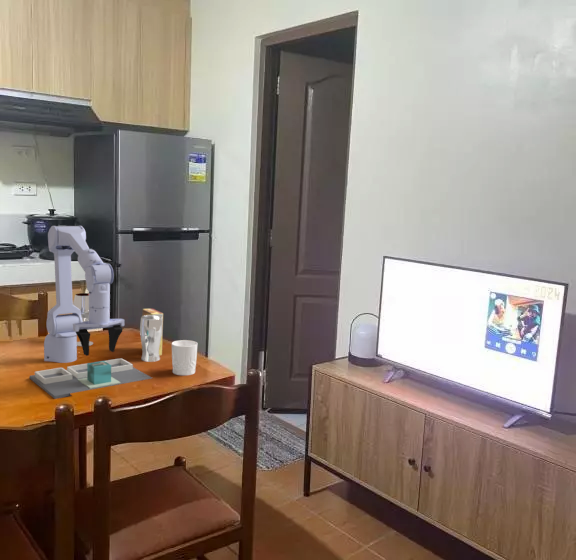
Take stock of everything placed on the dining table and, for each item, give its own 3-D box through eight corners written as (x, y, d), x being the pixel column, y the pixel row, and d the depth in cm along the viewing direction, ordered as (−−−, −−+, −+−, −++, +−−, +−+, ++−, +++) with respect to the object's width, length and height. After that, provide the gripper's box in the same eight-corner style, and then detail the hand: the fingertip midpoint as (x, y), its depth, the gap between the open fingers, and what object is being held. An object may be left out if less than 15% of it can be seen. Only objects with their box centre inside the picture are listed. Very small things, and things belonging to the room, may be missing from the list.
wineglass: (68, 343, 218) (67, 293, 215) (89, 339, 223) (89, 291, 221) (77, 348, 212) (77, 297, 209) (99, 344, 217) (100, 295, 215)
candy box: (140, 352, 211) (141, 308, 209) (152, 350, 214) (153, 307, 211) (151, 358, 204) (152, 313, 202) (163, 357, 207) (163, 312, 204)
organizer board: (29, 378, 178) (29, 370, 178) (122, 363, 197) (122, 356, 197) (54, 398, 163) (54, 390, 163) (152, 380, 182) (152, 373, 181)
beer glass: (156, 365, 197) (156, 320, 194) (136, 363, 198) (136, 318, 196) (164, 359, 204) (165, 315, 201) (145, 357, 205) (145, 314, 203)
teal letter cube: (87, 380, 176) (87, 363, 175) (103, 377, 179) (103, 360, 178) (94, 384, 172) (94, 367, 171) (111, 381, 175) (111, 364, 175)
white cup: (174, 370, 193) (174, 339, 191) (198, 371, 193) (199, 340, 191) (168, 377, 185) (169, 345, 184) (194, 379, 185) (195, 347, 183)
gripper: (79, 311, 165) (79, 359, 167) (129, 306, 174) (128, 352, 177) (69, 306, 170) (70, 353, 172) (118, 302, 180) (118, 347, 182)
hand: (99, 352), depth 175 cm, fingers open, 7 cm apart
